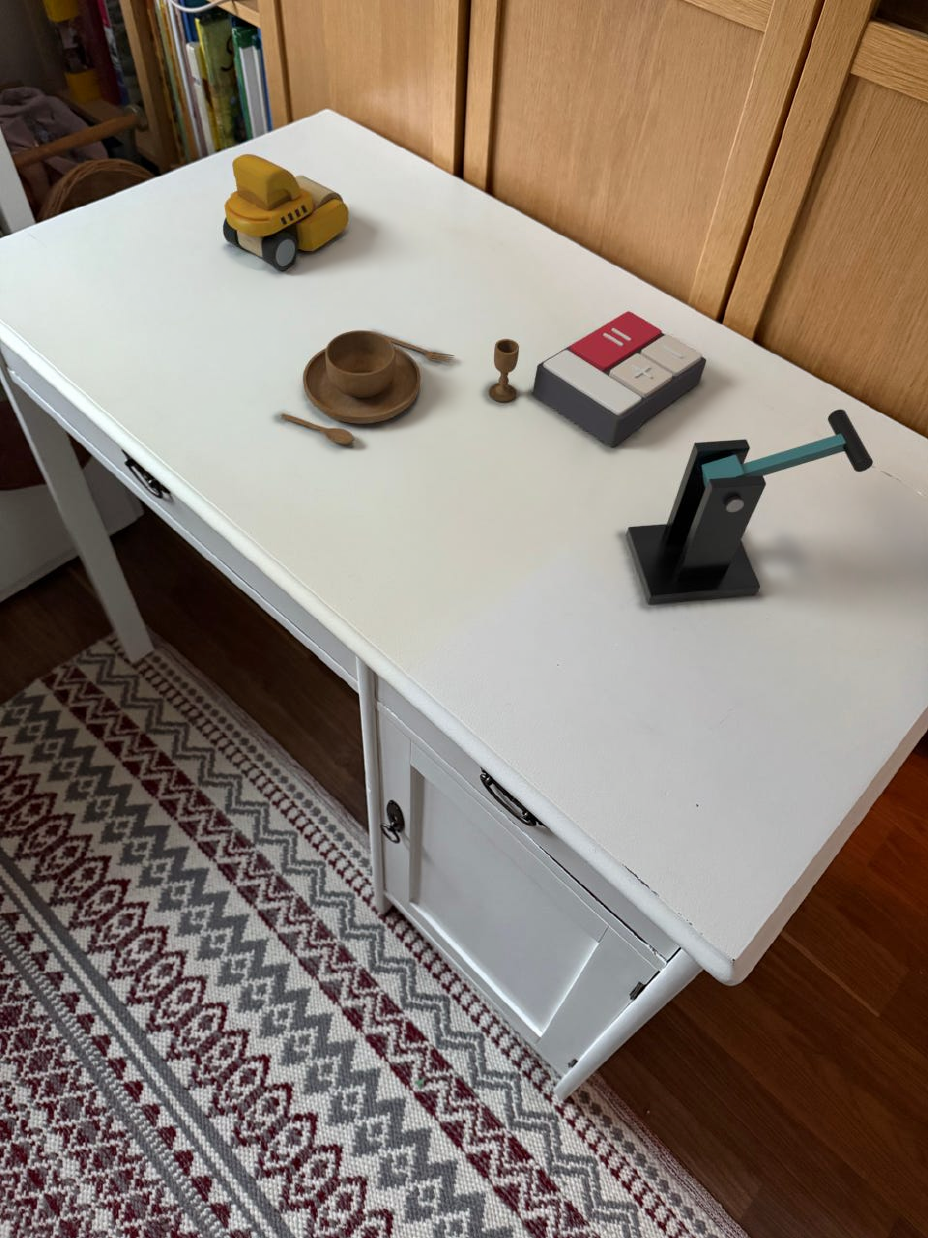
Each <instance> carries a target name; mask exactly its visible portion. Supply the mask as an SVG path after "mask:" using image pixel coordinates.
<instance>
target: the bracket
mask: <svg viewBox="0 0 928 1238" xmlns="http://www.w3.org/2000/svg"><path fill="white" fill-rule="evenodd" d="M750 450H751V446H750V445H749V442H748V440H747V439H745V438H744V439H729V440H716V441H715V440H713V441H701V442H694V443H693V445H692V449H691V452H690V455H689V458H688V460H687V464H686V466H685V470H684V472H683V475H682V478H681V480H680V484H679V487H678V490H677V493H676V496H675V498H674V501H673V505H672V508H671V511H670V514H669V516H668V519H667V522H666V523H664V524H663V523H662V524H650V525H649V524H648V525H637V526H628V528H627V530H626V534H625V536H626V540H627V543H628V546H629V549H630V552H631V556H632V558H633V561H634V564H635V569H636V571H637V574H638V578H639V580H640V583H641V587H642V590H643V593H644V596H645V600H646V601H647V602H646V603H647V604H648V605H654V604H655V605H656V604H666V603H667V604H668V603H678V602H688V601H690V602H691V601H701V600H711V599H720V598H722V599H723V598H735V597H744V596H755V595H757V594H758V593H759V590H760V589H761V584H760V582H759V580H758V577H757V575H756V573H755V569H754V567H753V565H752V563H751V560H750V558H749V556H748V554H747V551H746V548H745V546H744V543H743V541H742V539H743V536H744V535H745V533H746V530H747V528H748V526H749V523H750V521H751V518H752V517H753V515H754V512H755V510H756V508H757V506H758V503H759V501H760V499H761V496H762V494H763V493H764V491H765V488H766V486H767V482H766V480H765V478H764V476H762V475H757V476H743V477H729V478H715V479H709V481H708V484H707V486H706V488H705V485H704V481H703V473H702V465H703V464H707V463H710V462H713V461H716V460H720V459H723V458H726V457H729V456H732V455H736V456H737V458H738V460H739V463H740V465H741V464H744V463H745V461H746V459H747V456H748V455H749V452H750Z"/></svg>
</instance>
